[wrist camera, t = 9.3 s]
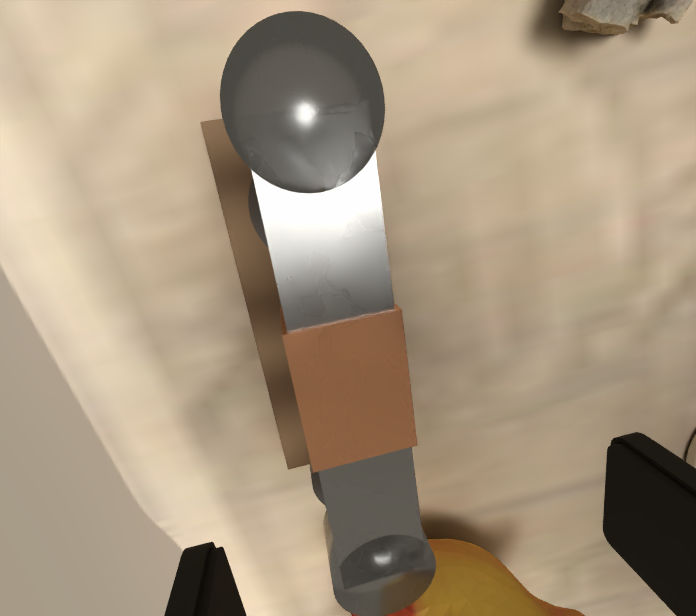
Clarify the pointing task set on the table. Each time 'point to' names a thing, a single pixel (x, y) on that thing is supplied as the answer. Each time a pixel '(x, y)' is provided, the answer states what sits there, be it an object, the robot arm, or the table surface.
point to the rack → (258, 288)
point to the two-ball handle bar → (335, 292)
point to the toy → (475, 587)
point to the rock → (618, 14)
